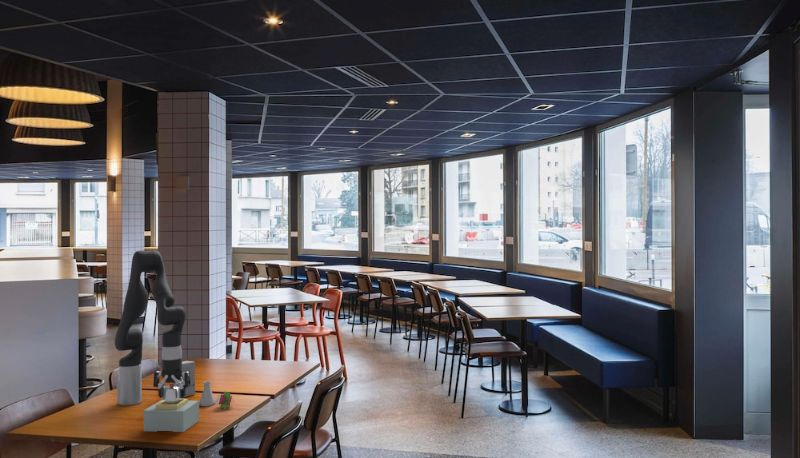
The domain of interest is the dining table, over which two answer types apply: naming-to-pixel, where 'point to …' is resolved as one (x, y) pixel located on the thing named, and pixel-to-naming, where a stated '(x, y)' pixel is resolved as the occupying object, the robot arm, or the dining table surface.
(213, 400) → the flask
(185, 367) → the skincare box
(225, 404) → the geometric puzzle
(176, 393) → the spout can
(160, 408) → the box with square opening
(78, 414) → the dining table surface
